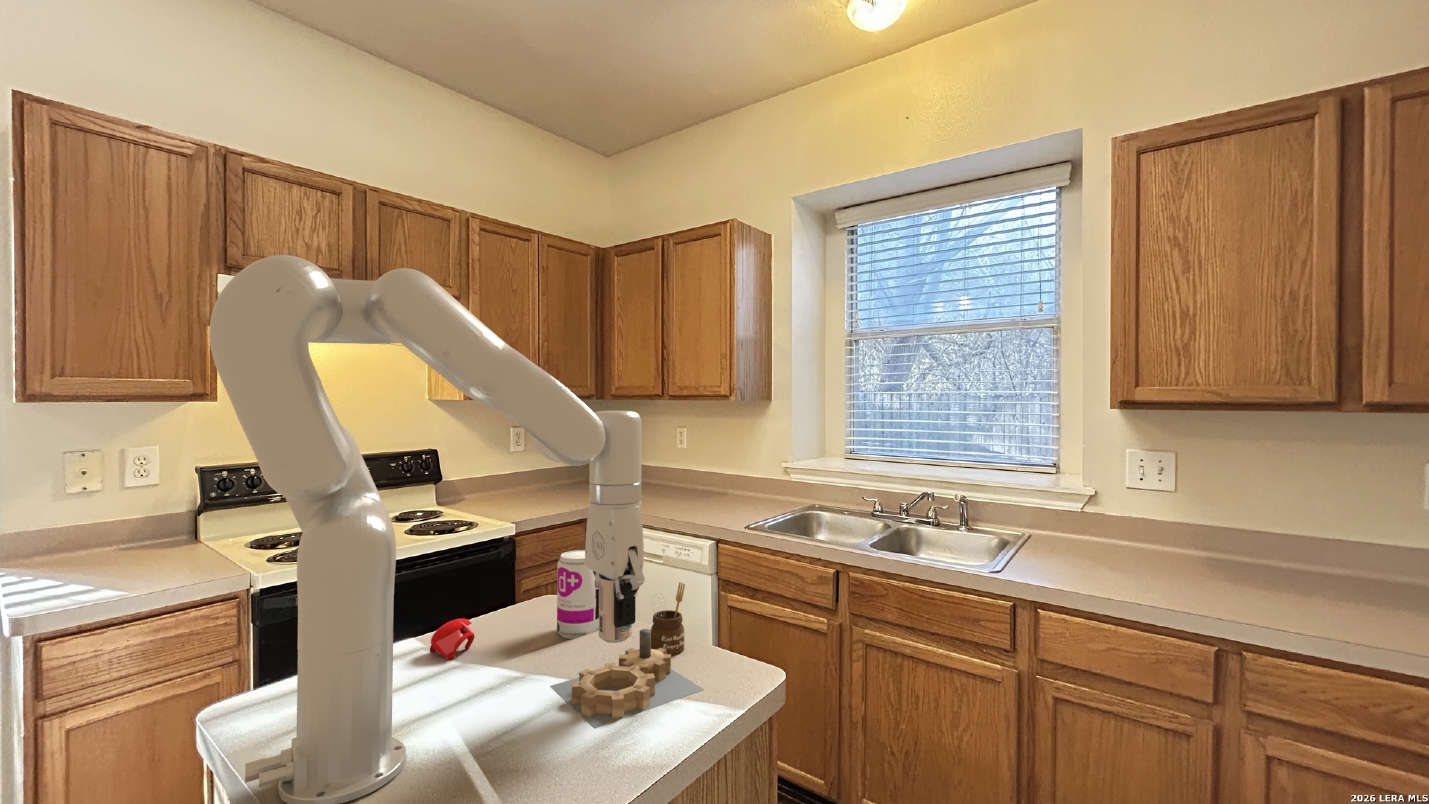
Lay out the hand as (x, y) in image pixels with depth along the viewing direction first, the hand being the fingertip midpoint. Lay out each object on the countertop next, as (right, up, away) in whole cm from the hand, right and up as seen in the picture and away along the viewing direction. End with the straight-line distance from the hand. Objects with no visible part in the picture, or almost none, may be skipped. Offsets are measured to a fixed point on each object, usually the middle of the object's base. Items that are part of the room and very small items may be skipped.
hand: (615, 618), depth 87 cm
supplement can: (-12, -13, +28) cm, 33 cm away
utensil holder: (+6, -13, +17) cm, 23 cm away
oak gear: (0, -11, 0) cm, 11 cm away
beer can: (0, -3, 0) cm, 3 cm away
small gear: (+3, -12, +8) cm, 15 cm away
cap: (-31, -13, +17) cm, 38 cm away
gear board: (+1, -12, +3) cm, 13 cm away
